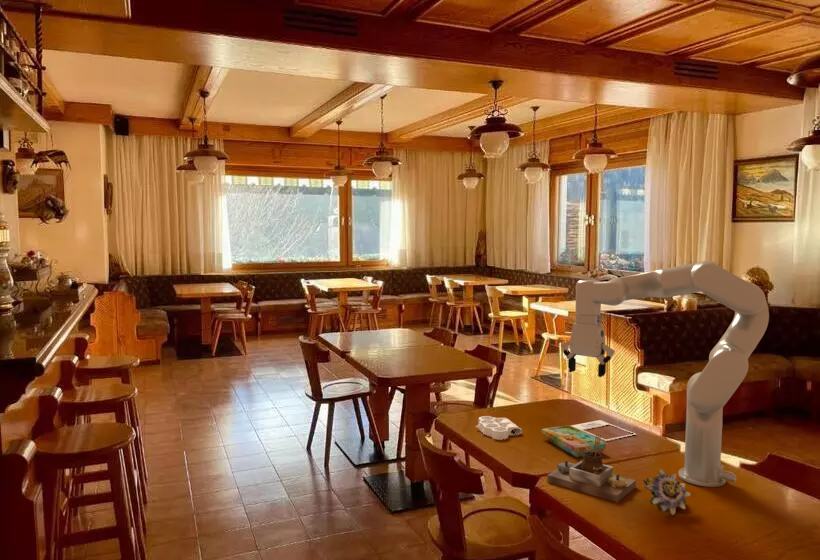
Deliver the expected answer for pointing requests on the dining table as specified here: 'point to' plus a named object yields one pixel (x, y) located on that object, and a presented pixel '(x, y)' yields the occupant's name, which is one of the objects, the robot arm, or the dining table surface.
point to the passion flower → (667, 492)
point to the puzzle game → (572, 440)
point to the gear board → (592, 481)
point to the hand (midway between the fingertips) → (586, 373)
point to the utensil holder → (593, 459)
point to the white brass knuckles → (497, 427)
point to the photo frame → (595, 425)
